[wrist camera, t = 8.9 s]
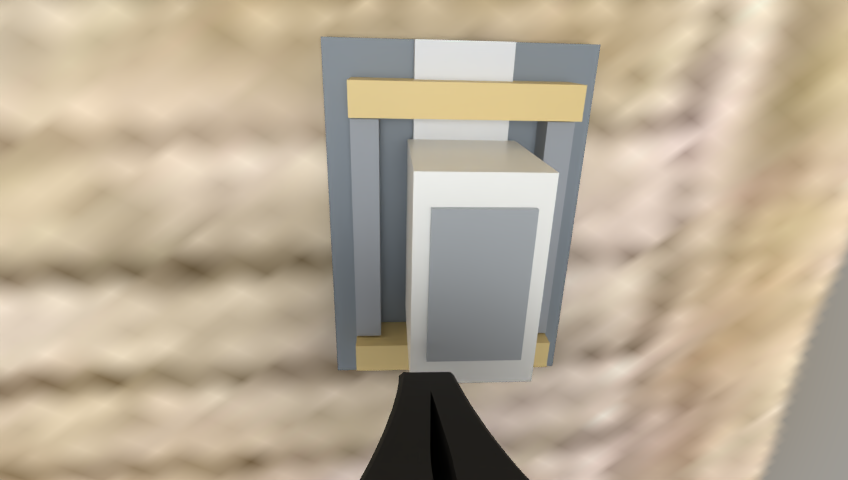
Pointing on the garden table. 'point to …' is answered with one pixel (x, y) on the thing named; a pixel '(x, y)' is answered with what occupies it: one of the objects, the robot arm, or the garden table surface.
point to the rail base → (437, 120)
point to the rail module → (476, 257)
